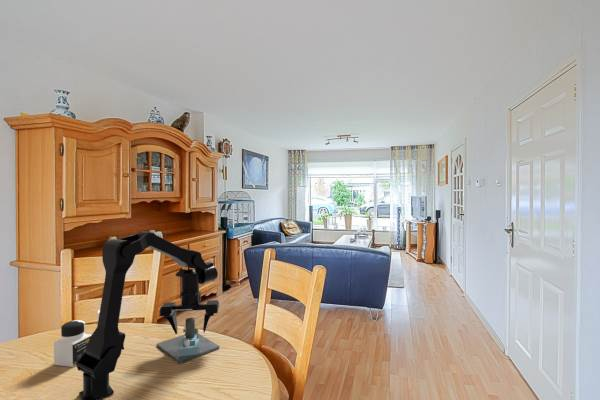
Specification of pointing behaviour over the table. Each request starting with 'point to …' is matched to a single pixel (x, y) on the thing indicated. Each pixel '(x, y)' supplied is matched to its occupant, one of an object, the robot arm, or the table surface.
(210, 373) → the table surface
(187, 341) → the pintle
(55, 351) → the medicine bottle
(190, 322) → the link
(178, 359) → the base plate
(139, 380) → the table surface
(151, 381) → the table surface
